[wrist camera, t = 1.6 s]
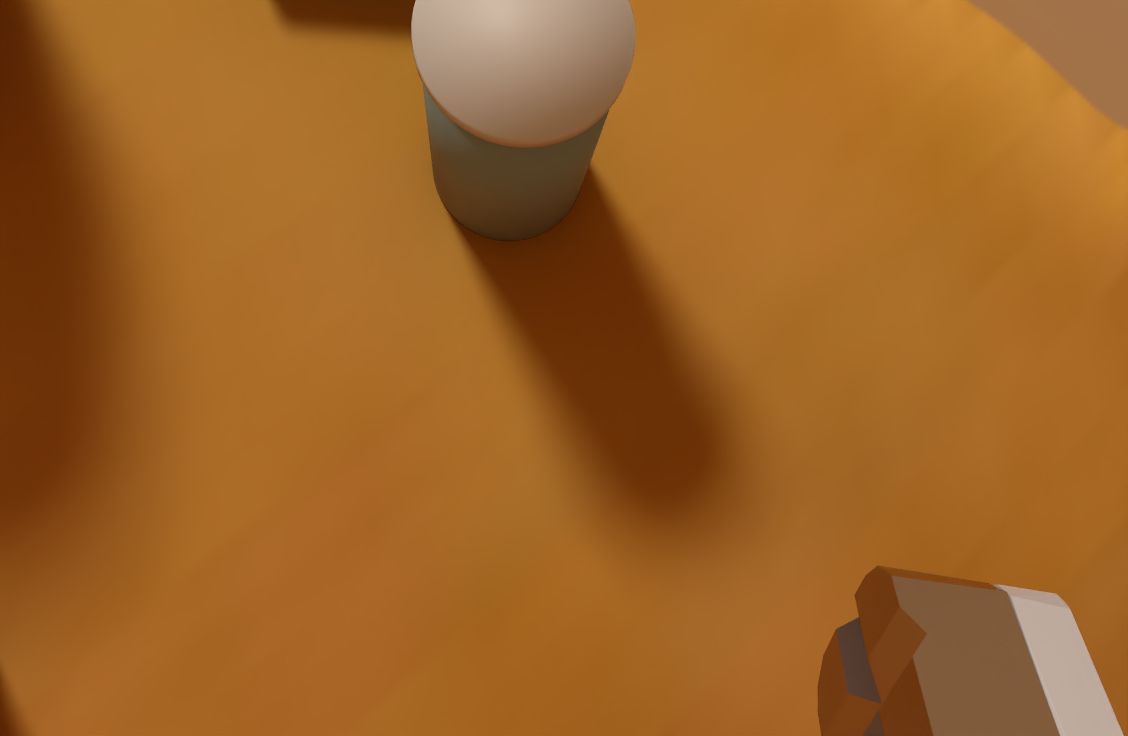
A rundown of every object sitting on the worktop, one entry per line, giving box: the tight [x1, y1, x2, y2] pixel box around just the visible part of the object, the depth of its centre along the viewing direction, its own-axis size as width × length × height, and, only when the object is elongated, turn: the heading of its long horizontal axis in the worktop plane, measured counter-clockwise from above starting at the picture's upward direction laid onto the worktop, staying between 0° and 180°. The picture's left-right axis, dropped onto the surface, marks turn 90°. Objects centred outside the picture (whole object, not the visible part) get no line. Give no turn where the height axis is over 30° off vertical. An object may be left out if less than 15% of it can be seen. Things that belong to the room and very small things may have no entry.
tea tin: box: [411, 0, 635, 241], centre depth 33 cm, size 6×6×12 cm
